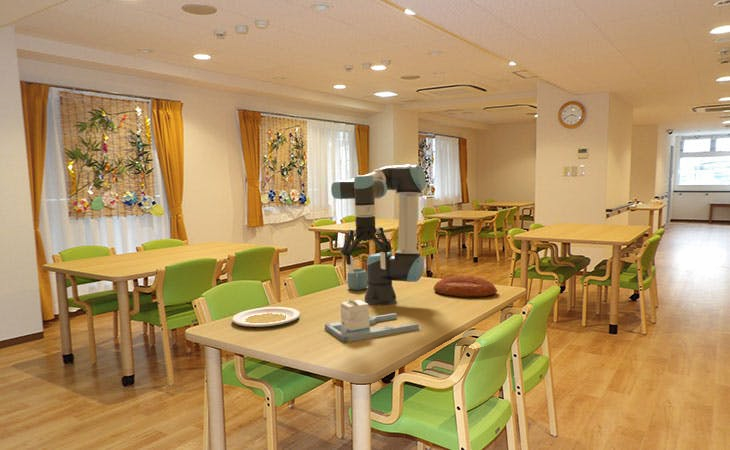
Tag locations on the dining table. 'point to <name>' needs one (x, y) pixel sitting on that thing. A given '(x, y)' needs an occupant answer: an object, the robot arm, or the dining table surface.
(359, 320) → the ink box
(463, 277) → the bread
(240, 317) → the plate
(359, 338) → the dock
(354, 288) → the mug
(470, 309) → the dining table surface
